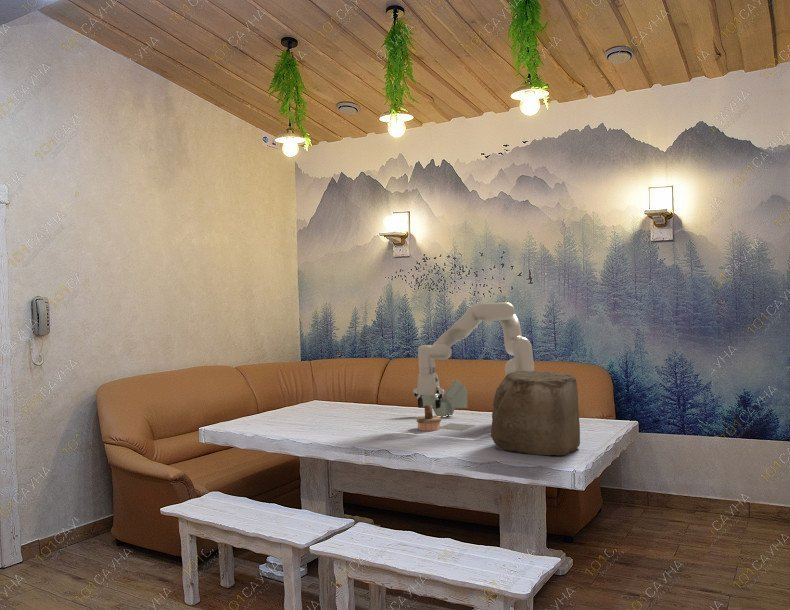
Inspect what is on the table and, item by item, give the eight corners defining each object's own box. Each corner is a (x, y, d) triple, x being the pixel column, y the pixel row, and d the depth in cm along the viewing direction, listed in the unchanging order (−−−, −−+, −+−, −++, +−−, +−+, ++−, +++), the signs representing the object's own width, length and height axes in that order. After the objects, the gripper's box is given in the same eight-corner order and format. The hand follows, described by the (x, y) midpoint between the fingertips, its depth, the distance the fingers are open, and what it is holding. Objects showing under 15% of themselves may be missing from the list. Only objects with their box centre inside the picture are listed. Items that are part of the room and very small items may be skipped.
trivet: (476, 427, 305) (476, 425, 305) (462, 432, 293) (461, 430, 293) (450, 424, 313) (450, 423, 313) (436, 429, 301) (435, 428, 301)
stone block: (478, 450, 256) (476, 375, 255) (507, 437, 275) (505, 368, 274) (560, 462, 234) (558, 381, 234) (585, 447, 254) (583, 372, 253)
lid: (445, 419, 301) (445, 404, 302) (433, 423, 292) (432, 408, 292) (424, 418, 308) (424, 403, 308) (411, 422, 298) (411, 406, 299)
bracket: (469, 416, 335) (468, 378, 335) (465, 418, 329) (464, 379, 329) (420, 414, 346) (419, 377, 346) (416, 416, 340) (414, 379, 340)
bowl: (443, 429, 301) (443, 419, 301) (432, 433, 293) (432, 423, 293) (425, 427, 307) (425, 418, 307) (414, 431, 299) (413, 421, 299)
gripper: (447, 370, 298) (449, 407, 298) (416, 370, 308) (418, 405, 308) (438, 372, 292) (441, 409, 292) (407, 372, 302) (409, 408, 302)
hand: (429, 407), depth 300 cm, fingers open, 9 cm apart
